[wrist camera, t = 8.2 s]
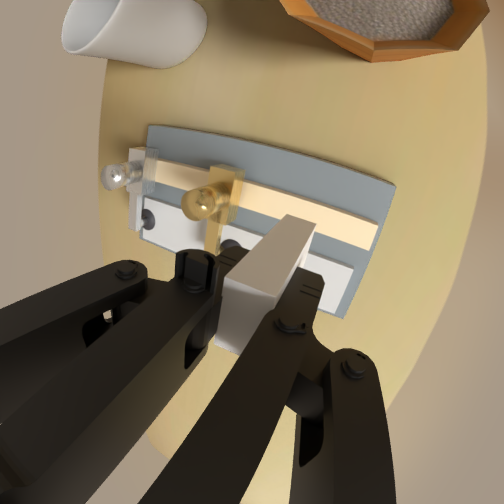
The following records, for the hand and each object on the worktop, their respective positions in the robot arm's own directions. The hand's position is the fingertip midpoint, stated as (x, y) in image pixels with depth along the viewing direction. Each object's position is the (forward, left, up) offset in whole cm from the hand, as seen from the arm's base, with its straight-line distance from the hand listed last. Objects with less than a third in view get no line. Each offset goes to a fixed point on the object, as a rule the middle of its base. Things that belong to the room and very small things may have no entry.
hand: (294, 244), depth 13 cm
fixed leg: (+2, -15, -7) cm, 17 cm away
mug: (-15, -18, -10) cm, 26 cm away
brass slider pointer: (+2, -7, -7) cm, 10 cm away
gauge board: (+3, -6, -10) cm, 12 cm away
